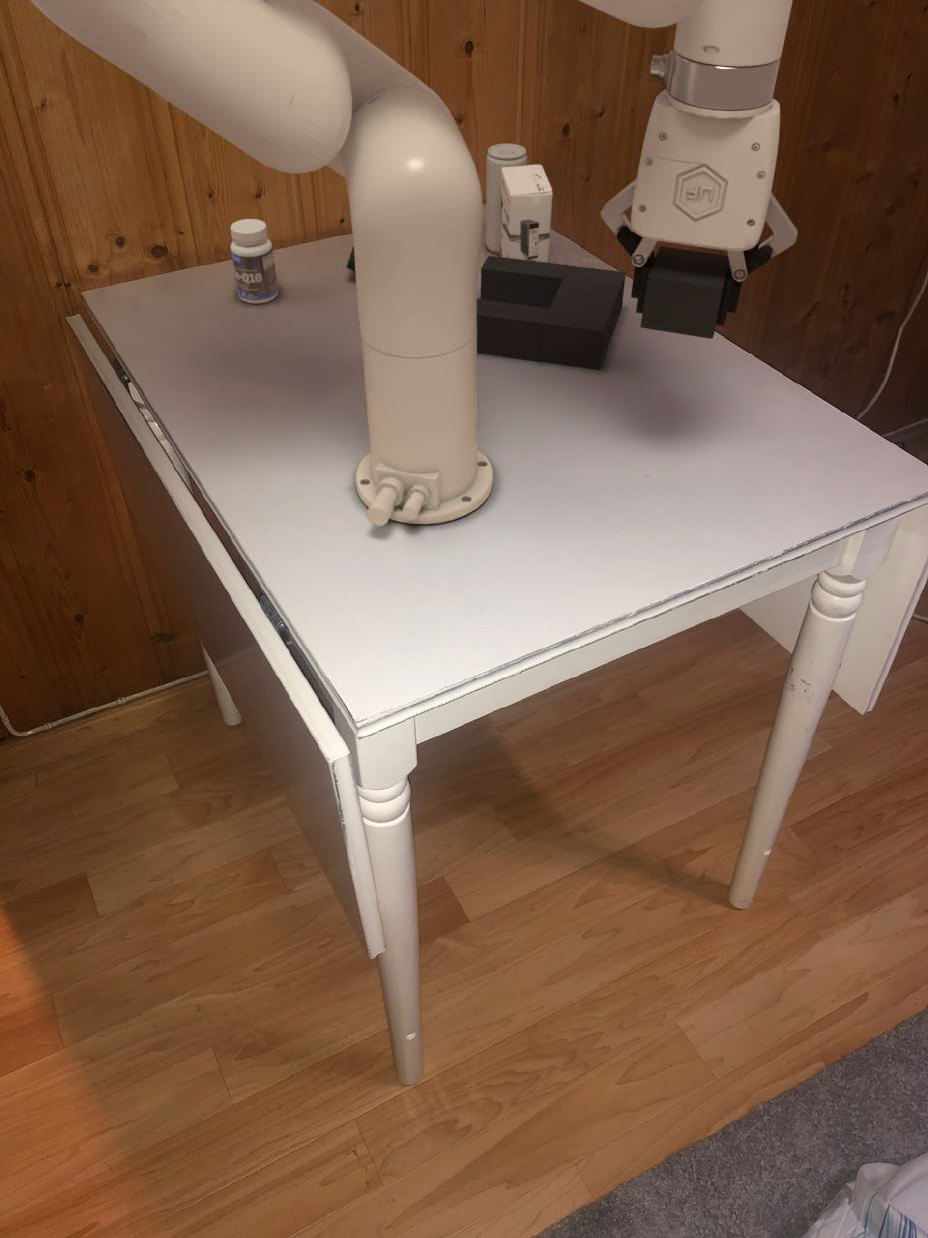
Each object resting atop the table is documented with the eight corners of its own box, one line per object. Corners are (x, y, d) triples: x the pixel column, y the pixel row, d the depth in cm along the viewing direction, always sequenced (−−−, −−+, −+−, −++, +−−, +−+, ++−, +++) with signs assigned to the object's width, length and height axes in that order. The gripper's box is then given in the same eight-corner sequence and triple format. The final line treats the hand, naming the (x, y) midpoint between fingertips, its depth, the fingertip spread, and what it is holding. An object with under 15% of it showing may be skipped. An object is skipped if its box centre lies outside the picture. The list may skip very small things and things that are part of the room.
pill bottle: (231, 300, 119) (218, 230, 113) (250, 283, 122) (239, 214, 117) (267, 307, 118) (256, 236, 112) (285, 289, 121) (276, 219, 115)
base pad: (455, 349, 111) (454, 311, 108) (488, 291, 121) (488, 255, 117) (600, 370, 108) (603, 331, 105) (621, 308, 117) (626, 271, 114)
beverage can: (524, 256, 127) (527, 157, 119) (485, 256, 127) (486, 157, 119) (523, 239, 131) (526, 142, 122) (485, 239, 131) (486, 142, 122)
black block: (712, 339, 83) (722, 287, 80) (639, 327, 84) (647, 276, 81) (721, 306, 87) (731, 255, 84) (652, 295, 89) (660, 245, 85)
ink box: (497, 261, 126) (499, 164, 118) (536, 259, 127) (541, 162, 118) (507, 293, 120) (510, 193, 112) (548, 291, 121) (553, 191, 112)
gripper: (593, 82, 72) (572, 316, 85) (843, 110, 69) (782, 350, 81) (614, 53, 77) (591, 278, 90) (848, 77, 74) (790, 307, 86)
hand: (682, 310), depth 85 cm, fingers closed on black block, 6 cm apart
